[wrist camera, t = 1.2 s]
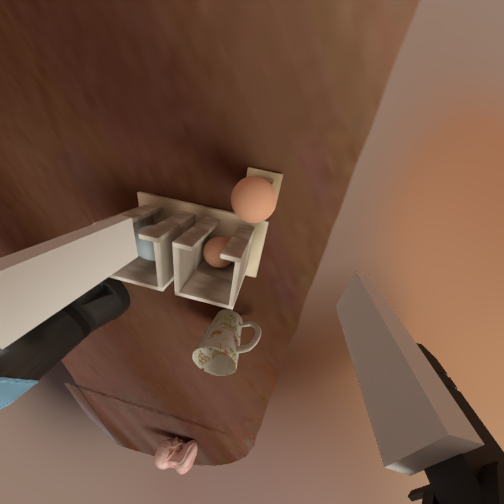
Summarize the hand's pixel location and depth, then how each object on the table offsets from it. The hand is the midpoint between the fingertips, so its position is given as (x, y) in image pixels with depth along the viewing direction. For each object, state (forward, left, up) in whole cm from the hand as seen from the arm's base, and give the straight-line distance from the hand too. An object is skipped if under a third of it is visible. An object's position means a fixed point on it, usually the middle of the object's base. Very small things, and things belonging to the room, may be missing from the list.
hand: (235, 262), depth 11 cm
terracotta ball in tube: (-6, -9, -18) cm, 21 cm away
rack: (-10, -9, -19) cm, 23 cm away
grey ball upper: (-15, -9, -14) cm, 22 cm away
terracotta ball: (-1, +1, -14) cm, 14 cm away
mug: (-1, -27, -19) cm, 33 cm away
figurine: (-16, -117, -19) cm, 120 cm away
